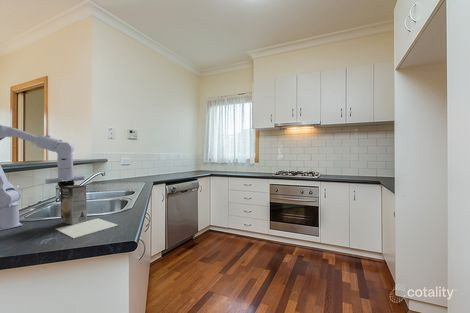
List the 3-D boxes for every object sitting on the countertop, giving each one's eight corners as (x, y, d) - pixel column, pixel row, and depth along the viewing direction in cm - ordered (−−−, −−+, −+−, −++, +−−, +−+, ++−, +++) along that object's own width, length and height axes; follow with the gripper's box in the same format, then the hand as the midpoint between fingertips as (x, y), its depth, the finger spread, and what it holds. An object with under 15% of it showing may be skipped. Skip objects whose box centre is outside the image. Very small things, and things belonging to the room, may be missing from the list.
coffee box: (60, 222, 97) (59, 186, 97) (75, 219, 102) (74, 184, 103) (72, 224, 93) (71, 187, 93) (87, 220, 99) (86, 185, 99)
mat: (55, 229, 89) (55, 228, 88) (98, 218, 102) (98, 218, 102) (73, 238, 78) (73, 237, 78) (118, 225, 92) (118, 224, 92)
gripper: (48, 169, 93) (50, 201, 93) (86, 167, 105) (87, 195, 105) (43, 169, 97) (44, 199, 97) (80, 167, 109) (81, 194, 109)
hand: (66, 197), depth 102 cm, fingers closed
